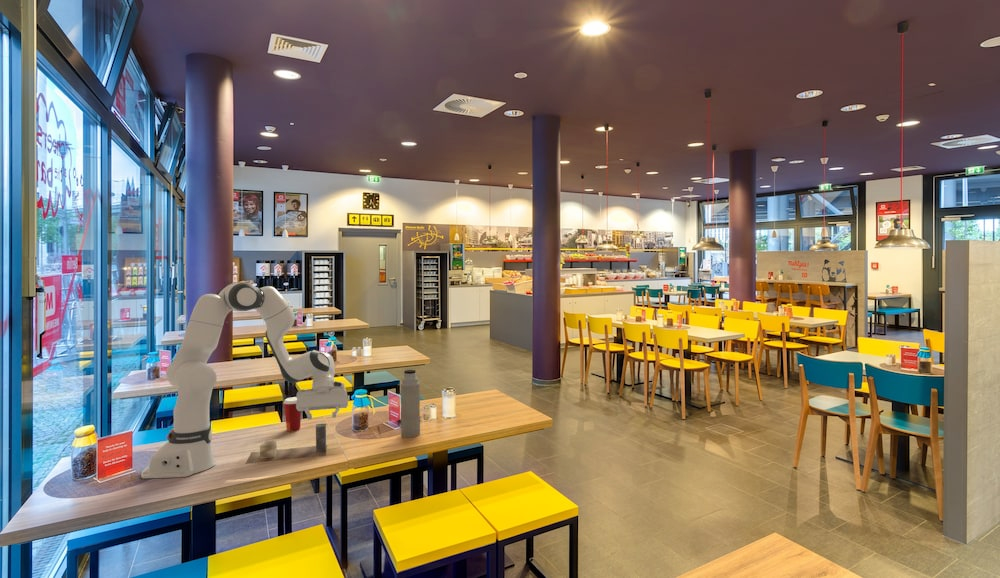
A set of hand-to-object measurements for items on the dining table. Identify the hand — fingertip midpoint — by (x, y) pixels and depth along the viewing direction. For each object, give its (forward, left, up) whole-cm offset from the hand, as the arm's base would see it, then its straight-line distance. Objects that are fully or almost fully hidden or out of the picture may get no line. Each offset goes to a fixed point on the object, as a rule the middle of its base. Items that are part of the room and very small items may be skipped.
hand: (322, 417), depth 202 cm
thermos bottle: (+36, +6, -12) cm, 38 cm away
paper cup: (-14, +28, -12) cm, 33 cm away
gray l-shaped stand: (-12, -6, -12) cm, 18 cm away
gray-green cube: (-19, -6, -11) cm, 23 cm away
